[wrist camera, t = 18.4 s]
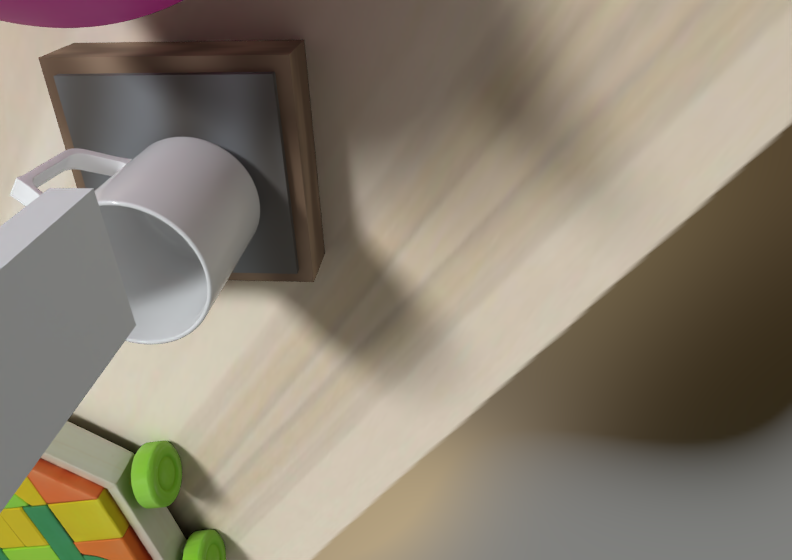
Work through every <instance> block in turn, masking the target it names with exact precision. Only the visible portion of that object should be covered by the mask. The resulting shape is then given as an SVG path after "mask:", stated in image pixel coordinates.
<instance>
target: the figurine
mask: <svg viewBox="0 0 792 560" xmlns="http://www.w3.org/2000/svg"><path fill="white" fill-rule="evenodd" d="M181 1H183V0H0V20H1V21H6V22H11V23H16V24H22V25H30V26H39V27H52V28H79V27H93V26H101V25H108V24H114V23H119V22H124V21H128V20H132V19H136V18H139V17H143V16H146V15H149V14H152V13H155V12H158V11H160V10H163V9H165V8H168V7H170V6H172V5H175V4H177V3H179V2H181Z"/></svg>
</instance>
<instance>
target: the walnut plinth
mask: <svg viewBox="0 0 792 560" xmlns="http://www.w3.org/2000/svg"><path fill="white" fill-rule="evenodd" d="M39 61H40V64H41V68H42V71H43V74H44V78H45V81H46V85H47V88H48V91H49V95H50V98H51V101H52V105H53V108H54V112H55V115H56V118H57V122H58V125H59V128H60V132H61V135H62V139H63V142H64V145H65V149H66V150H68V149H72V148H79V149H86V150H90V151H94V152H99V153H103V154H107V155H112V156H116V157H121V158H127V159H133V158H134V157H135V156H136V155H138V154H139V153H140V152H141V151H143V150H144V149H145V148H146V147H148V146H149V145H151V144H153V143H155V142H157V141H160V140H163V139H166V138H171V137H194V138H199V139H203V140H206V141H209V142H212V143H214V144H216V145H218V146H220V147H222V148H223V149H225V150H226V151H228V152H229V153H231V154H232V155H233V156H234V157H235V158H236V159H237V160H238V161H239V162H240V163H241V164H242V165H243V166H244V167H245V169H246V170H247V171H248V173H249V174H250V176H251V178H252V179H253V182H254V184H255V186H256V189H257V192H258V195H259V201H260V219H259V224H258V227H257V230H256V233H255V235H254V237H253V238H252V240H251V242H250V243H249V245H248V247H247V248H246V250H245V252H244V253H243V255H242V257H241V258H240V260H239V262H238V263H237V265H236V267H235V269H234V270H233V272H232V274H231V275H230V277H229V279H228V280H245V281H296V282H314V280H315V278H316V275H317V272H318V270H319V267H320V264H321V262H322V259H323V257H324V254H325V250H324V239H323V229H322V219H321V208H320V198H319V188H318V177H317V167H316V157H315V146H314V136H313V126H312V115H311V105H310V95H309V84H308V74H307V64H306V54H305V43H304V40H263V41H193V42H123V43H73V44H71V45H68V46H66V47H63V48H61V49H59V50H56V51H54V52H51V53H49V54H47V55H44V56H42V57H39ZM72 172H73V176H74V179H75V183H76V186H77V188H94V191H95V190H96V189H97V188H98V187H99V186H101V185H102V184H103V183H104V182H105V181H107V180H108V179H109V178H110V177H111V176H108V175H103V174H98V173H93V172H88V171H84V170H77V169H72Z"/></svg>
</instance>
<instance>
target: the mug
mask: <svg viewBox="0 0 792 560" xmlns="http://www.w3.org/2000/svg"><path fill="white" fill-rule="evenodd" d="M70 169H77V170H84V171H88V172H93V173H98V174H103V175H108V176H111V177H110V178H109V179H108V180H107V181H105V182H104V183H103V184H102V185H101V186H99V187H98V188H97V189H96V190H95V191H94V192H95V195H96V198H97V201H98V204H99V208H100V211H101V214H102V217H103V220H104V224H105V227H106V230H107V233H108V236H109V240H110V243H111V246H112V249H113V252H114V256H115V259H116V262H117V265H118V268H119V272H120V275H121V278H122V281H123V285H124V288H125V291H126V294H127V297H128V301H129V304H130V307H131V310H132V313H133V317H134V320H135V323H136V326H135V328H134V329H133V330H132V332H131V333H130V335H129V336H128V337H127V339H126V340H125V341H128V342H132V343H138V344H163V343H168V342H172V341H175V340H178V339H181V338H183V337H185V336H187V335H188V334H190V333H191V332H193V331H194V330H195V329H196V328H197V327H198V326H199V325H200V324H201V323H202V322H203V320H204V319H205V317H206V316H207V314H208V312H209V310H210V309H211V307H212V305H213V304H214V302H215V300H216V299H217V297H218V295H219V294H220V292H221V290H222V289H223V287H224V285H225V284H226V282H227V280H228V279H229V277H230V275H231V274H232V272H233V270H234V269H235V267H236V265H237V263H238V262H239V260H240V258H241V257H242V255H243V253H244V252H245V250H246V248H247V247H248V245H249V243H250V242H251V240H252V238H253V237H254V235H255V233H256V230H257V227H258V224H259V219H260V201H259V195H258V192H257V189H256V186H255V184H254V182H253V179H252V178H251V176H250V174H249V173H248V171H247V170H246V169H245V167H244V166H243V165H242V164H241V163H240V162H239V161H238V160H237V159H236V158H235V157H234V156H233V155H232V154H231V153H229V152H228V151H226V150H225V149H223V148H222V147H220V146H218V145H216V144H214V143H212V142H209V141H206V140H203V139H199V138H194V137H171V138H166V139H163V140H160V141H157V142H155V143H153V144H151V145H149V146H148V147H146V148H145V149H144V150H143V151H141V152H140V153H139V154H138V155H136V156H135V157H134V158H133V159H127V158H121V157H116V156H112V155H107V154H103V153H99V152H94V151H90V150H86V149H79V148H72V149H68V150H65V151H63V152H62V153H60V154H58V155H57V156H55V157H53V158H51V159H50V160H48V161H46V162H45V163H43V164H41V165H40V166H38V167H36V168H34V169H33V170H31V171H29V172H28V173H26V174H24V175H22V176H20V177H17V178H16V180H15V183H14V185H13V188H12V190H11V193H10V196H11V197H13V198H15V199H16V200H18V201H19V202H20V203H22V204H23V205H24V206H25V207H26V206H27V205H28V204H30V203H31V202H32V201H34V200H35V199H36V198H37V197H39V196H40V195H41V194H43V193H42V192H41V191H40V190H39V189H37V187H39V186H41V185H42V184H44V183H45V182H47V181H49V180H50V179H52V178H53V177H55V176H56V175H58V174H60V173H61V172H63V171H65V170H70Z"/></svg>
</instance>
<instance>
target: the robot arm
mask: <svg viewBox="0 0 792 560" xmlns="http://www.w3.org/2000/svg"><path fill="white" fill-rule="evenodd" d="M135 326H136V323H135V320H134V317H133V313H132V310H131V307H130V304H129V301H128V297H127V294H126V291H125V288H124V285H123V281H122V278H121V275H120V272H119V268H118V265H117V262H116V259H115V256H114V252H113V249H112V246H111V243H110V240H109V236H108V233H107V230H106V227H105V224H104V220H103V217H102V214H101V211H100V208H99V204H98V201H97V198H96V195H95V192H94V188H49V189H48V190H46V191H45V192H44V193H43V194H41V195H40V196H39V197H37V198H36V199H35V200H34V201H32V202H31V203H30V204H28V205H27V206H26V207H25V208H23V209H22V210H21V211H19V212H18V213H17V214H16V215H14V216H13V217H12V218H11V219H9V220H8V221H7V222H5V223H4V224H3V225H2V226H0V513H1V512H2V510H3V509H4V507H5V506H6V505H7V503H8V502H9V500H10V499H11V498H12V496H13V495H14V494H15V492H16V491H17V489H18V488H19V487H20V485H21V484H22V482H23V481H24V480H25V478H26V477H27V476H28V474H29V473H30V471H31V470H32V469H33V467H34V466H35V465H36V463H37V462H38V460H39V459H40V458H41V456H42V455H43V453H44V452H45V451H46V449H47V448H48V447H49V445H50V444H51V442H52V441H53V440H54V438H55V437H56V435H57V434H58V433H59V431H60V430H61V429H62V427H63V426H64V424H65V423H66V422H67V420H68V419H69V418H70V416H71V415H72V413H73V412H74V411H75V409H76V408H77V406H78V405H79V404H80V402H81V401H82V400H83V398H84V397H85V395H86V394H87V393H88V391H89V390H90V388H91V387H92V386H93V384H94V383H95V382H96V380H97V379H98V377H99V376H100V375H101V373H102V372H103V371H104V369H105V368H106V366H107V365H108V364H109V362H110V361H111V359H112V358H113V357H114V355H115V354H116V353H117V351H118V350H119V348H120V347H121V346H122V344H123V343H124V341H125V340H126V339H127V337H128V336H129V335H130V333H131V332H132V330H133V329H134V328H135Z"/></svg>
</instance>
